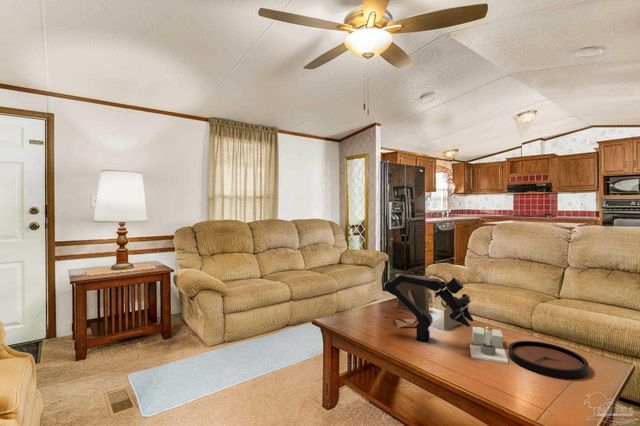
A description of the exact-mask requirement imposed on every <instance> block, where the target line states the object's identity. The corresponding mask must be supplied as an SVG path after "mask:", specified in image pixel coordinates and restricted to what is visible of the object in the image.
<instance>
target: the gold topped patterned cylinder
mask: <svg viewBox="0 0 640 426" xmlns="http://www.w3.org/2000/svg"><path fill="white" fill-rule="evenodd" d="M483 328H484V346H485V347H489V348H492V329H493V326H491V325H484V327H483Z"/></svg>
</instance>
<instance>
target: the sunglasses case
mask: <svg viewBox="0 0 640 426" xmlns="http://www.w3.org/2000/svg"><path fill="white" fill-rule="evenodd" d="M417 324H418V321H417V319H415V318H395V319H394V320H393V325H394V326H395V327H396V329H416V325H417Z"/></svg>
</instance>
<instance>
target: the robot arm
mask: <svg viewBox="0 0 640 426" xmlns="http://www.w3.org/2000/svg"><path fill="white" fill-rule="evenodd" d="M400 274H401V275H399V277H397V278H396V279H395V278H394V279H390V280H389V281H387V282H386V283H385V284H384V290H385V291H386V292H388V293H389V294H390V295H392V296H394V297H396V299H397V298H398V299H399V300H400V301H401V302H402V303H403V304H404V305H405V306H406V307H407V308H408V309H407V310H409V311H410V313H411V312H412V313H413V314H412V313H411V314H412V315H414V317H415V318H416V319H417V321H418V324H417V325H416V328H415V330H416V334H415V335H416V336H415V341H418V342H419V341H420V342H424V343H425V342H426V343H428V342H429V340H430V338H431V337H430V336H431V335H430V333H431V331H430V329H429V328H430V327H431V326H430V325H431V324H432V322H433V321H434V320H433V319H434V318H433V316H432V313H430V312H429V311H428V312H427V310H425V311H422V310H421V309H419V308H418V307H417V306H416V305H415V304H414V303H413V302H412V301H411V300H410V299H409V298H408V297H407V296H406V295H405V294H404V293H403V292H402V290H401V288H400V286H399V284H400V283H401V282H406V283H411V284H416V285H420V286H424V287H426V288H428V290H431V291H433V292H434V293H435V295H434V297H435V298H437V297H440V299H441V300H442V301H443V302H444V303H445V306H446V307H448V308H450V309H451V310H452V311H451V312H452V313H451V314H450V318H451V319H452V320H453V319H454V321H457V322H460V323H459V324H462V325H464V326H465V327H468V328H470V327H471V324H470V323H469V322H470V321H471V322H474V318H473V317H472V315H471V313H470V311H469V307H470V306H469V304H470V303H471V302H472V301H471V298H470V296H469V295H468V294H466V293H463V294H462V295H461V296H460V297H458V296H454V295H456V294H457V293H459V292H460V291H461V290H462V289H463V288H465V286H464V285H463V283H462V282H461V281H460V280H459V279H457V278H456V277H453V278H452V279H450V280H449V281H448V282H447V281H442V280H441V279H440V278H435V277H434V278H432V277H431V278H429V277H428V278H427V279H425V278H420V277H415V276H416V275H413V276H410V275H411V274H405V273H400ZM468 320H469V321H468Z"/></svg>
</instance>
